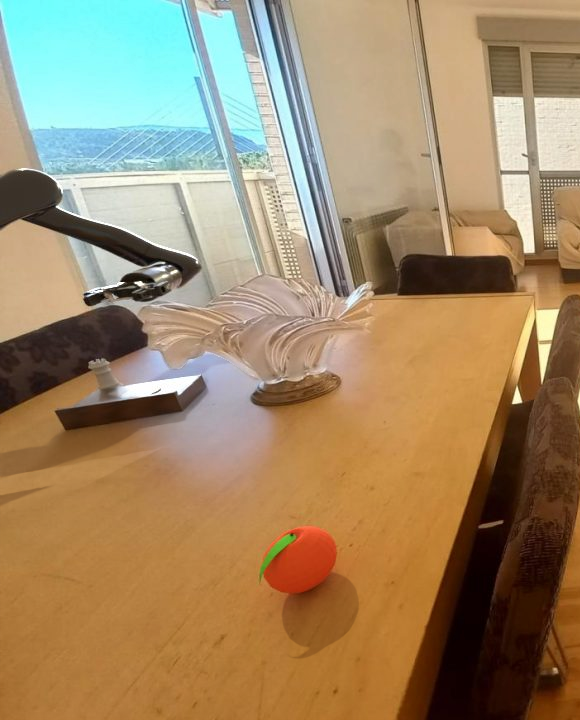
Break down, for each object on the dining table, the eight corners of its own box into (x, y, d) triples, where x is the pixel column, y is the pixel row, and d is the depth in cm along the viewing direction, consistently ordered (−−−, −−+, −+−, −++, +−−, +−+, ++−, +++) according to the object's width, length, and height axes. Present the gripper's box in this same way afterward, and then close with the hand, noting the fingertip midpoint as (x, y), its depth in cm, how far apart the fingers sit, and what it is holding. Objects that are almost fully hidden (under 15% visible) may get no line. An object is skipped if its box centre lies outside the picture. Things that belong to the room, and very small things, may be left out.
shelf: (65, 430, 89) (53, 410, 87) (103, 402, 99) (93, 384, 97) (182, 411, 94) (174, 392, 93) (206, 386, 105) (199, 369, 103)
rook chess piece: (94, 398, 101) (75, 364, 98) (118, 389, 105) (102, 356, 102) (109, 400, 100) (91, 365, 97) (133, 390, 104) (117, 357, 101)
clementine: (299, 623, 49) (277, 572, 46) (248, 609, 51) (225, 559, 48) (357, 564, 56) (341, 517, 53) (311, 553, 58) (294, 507, 55)
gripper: (106, 272, 117) (62, 287, 103) (176, 266, 121) (143, 279, 107) (120, 301, 120) (79, 319, 106) (188, 294, 124) (157, 311, 110)
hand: (111, 299), depth 107 cm, fingers open, 8 cm apart
